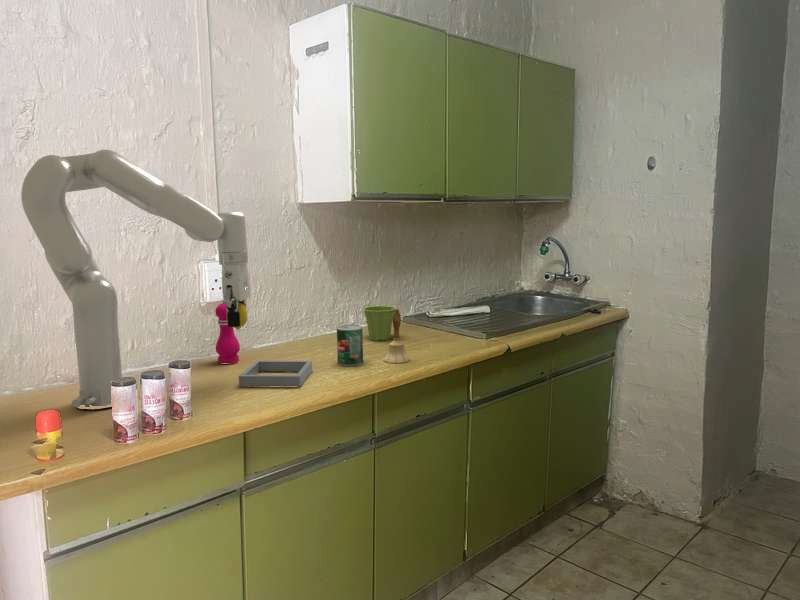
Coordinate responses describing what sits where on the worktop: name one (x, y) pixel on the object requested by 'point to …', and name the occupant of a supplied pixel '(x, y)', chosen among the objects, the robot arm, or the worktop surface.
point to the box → (276, 380)
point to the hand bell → (396, 343)
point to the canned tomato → (350, 345)
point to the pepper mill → (226, 338)
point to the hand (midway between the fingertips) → (237, 323)
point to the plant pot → (379, 321)
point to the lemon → (241, 315)
